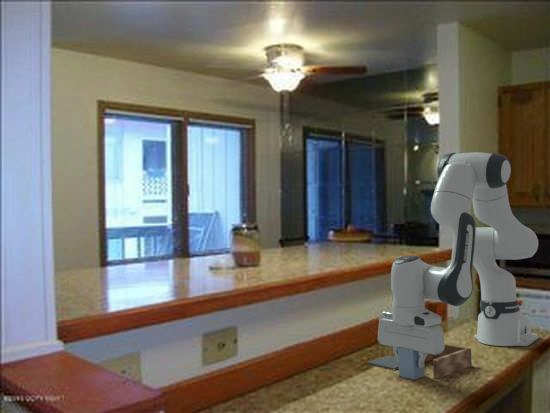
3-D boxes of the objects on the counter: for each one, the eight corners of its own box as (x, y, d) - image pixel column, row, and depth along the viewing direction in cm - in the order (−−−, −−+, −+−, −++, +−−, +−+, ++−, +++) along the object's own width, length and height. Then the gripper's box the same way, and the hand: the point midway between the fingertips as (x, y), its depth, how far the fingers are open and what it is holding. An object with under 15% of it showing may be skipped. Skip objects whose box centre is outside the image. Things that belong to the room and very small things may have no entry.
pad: (388, 357, 177) (388, 355, 177) (414, 363, 170) (414, 361, 170) (367, 363, 171) (367, 361, 171) (393, 370, 163) (393, 368, 163)
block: (409, 372, 161) (408, 344, 161) (424, 375, 157) (423, 347, 157) (398, 376, 158) (397, 347, 158) (413, 379, 154) (412, 350, 154)
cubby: (432, 357, 175) (432, 341, 175) (471, 365, 165) (471, 348, 165) (398, 369, 164) (397, 352, 164) (437, 378, 154) (436, 360, 154)
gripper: (372, 312, 163) (373, 360, 163) (432, 321, 147) (435, 374, 147) (386, 309, 167) (387, 356, 167) (446, 317, 151) (448, 369, 151)
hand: (410, 365), depth 157 cm, fingers closed on block, 5 cm apart
